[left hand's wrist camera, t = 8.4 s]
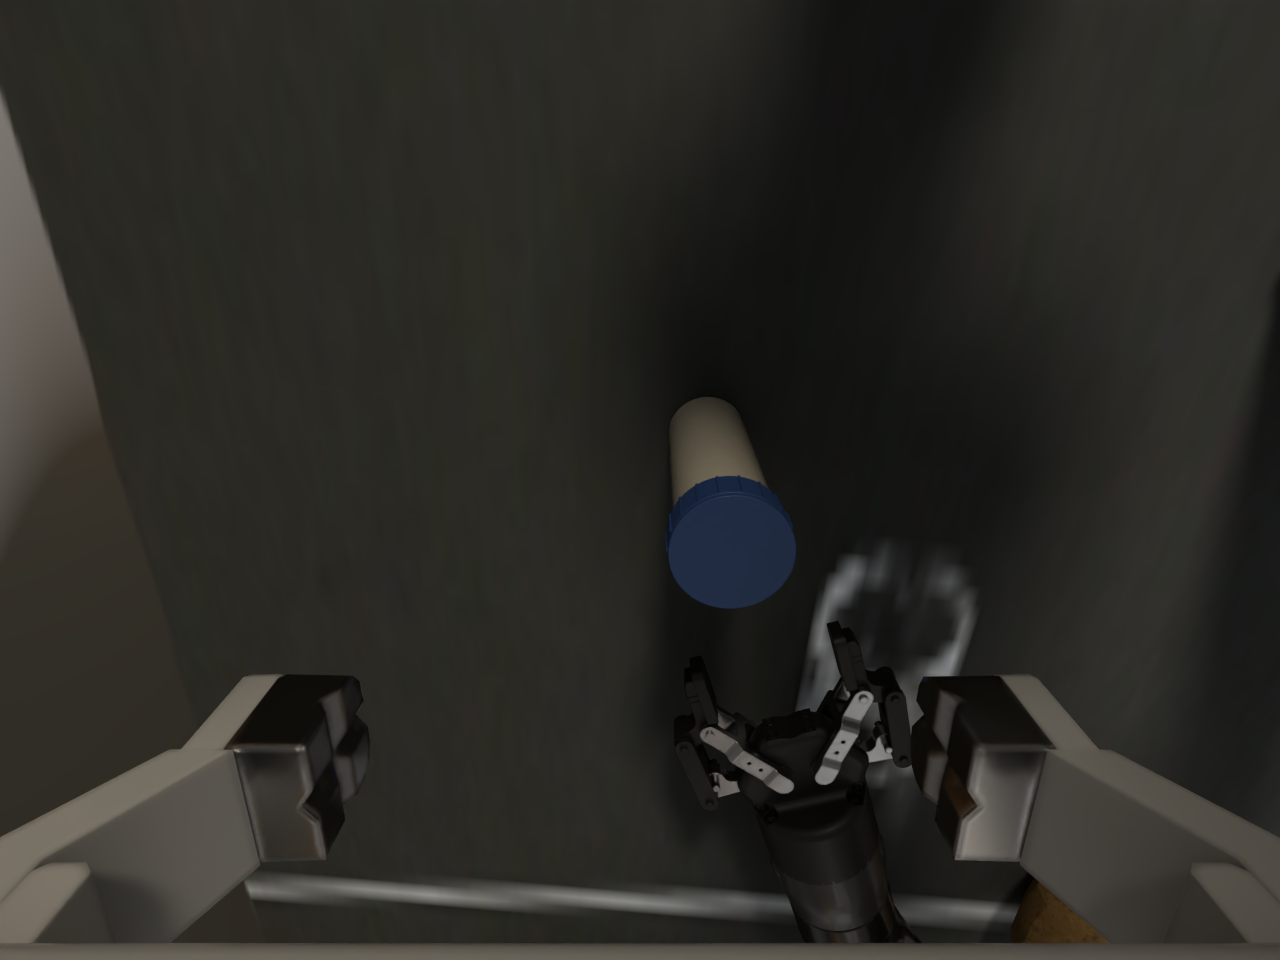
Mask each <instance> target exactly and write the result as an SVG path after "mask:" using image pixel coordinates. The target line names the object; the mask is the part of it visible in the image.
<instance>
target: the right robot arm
mask: <svg viewBox="0 0 1280 960" xmlns="http://www.w3.org/2000/svg"><path fill="white" fill-rule="evenodd" d="M827 628H828V631H829V635H830V639H831V643H832V647H833V651H834V655H835V659H836V663H837V666H838V670H839V672H840V675H841V678H840V679H839V681H838V683H837V685H836V686H835V688H834V690H833V691H832V690H829V691H828V692H827V694H826V696H825V697H824V699H823V701H822V703H821V704H820V706H819V708H818V710H817V711H816V712H811V711H810V708H809V709H804V710H800V711H797V712H795V713H793V714H790V715H788V716H781V717H770V718H766V719H762V721H763V723H762V724H760V725H758V724H756V723H755V722H753V721H751V720H750V719H748V718H746V717H744V716H743V715H741V714H739V713H737V712H735V713H734V714H731V713H730V712H728V711H726V710H725V709H723V708H721V707H719V706H718V705H717V702H716V697H715V694H714V691H713V688H712V685H711V682H710V679H709V676H708V674H707V671H706V668H705V665H704V662H703V659H702V656H697V657H693V658H690V667H689V668H685V671H684V684H685V692H686V695H687V697H688V700H689V703H690V706H691V709H692V711H693V713H692V714H691V715H689V716H685V715H681V716H678V717H677V718H676V719H675V720H674V739H675V752H676V755H677V757H678V759H679V761H680V763H681V765H682V767H683V769H684V772H685V774H686V776H687V778H688V780H689V782H690V784H691V786H692V789H693V791H694V793H695V795H696V797H697V799H698V801H699V803H700V806H701V807H702V808H703V809H704V810H707V811H712V810H715V809H716V808H717V807H718V806H719V799H718V797H722V796H725V795H729V794H733V793H736V792H741V793H742V794H743V795H745V796H746V797H747V798H748V799H749V800H750V801H751V802H752V804H753V807H754V810H755V813H756V816H757V819H758V822H759V825H760V828H761V831H762V834H763V836H764V839H765V842H766V845H767V848H768V851H769V854H770V860H771V861H770V862H771V865H772V867H773V870H774V872H775V873H776V874H777V877H778V879H779V882H780V884H781V886H782V888H783V890H784V891H785V893H786V895H787V897H788V898H789V901H790V904H791V907H792V909H793V912H794V915H795V918H796V921H797V924H798V928H799V930H800V933H801V935H802V938H803V940H804V942H805V943H921V941H920V940H919V938H918V937H917V936H916V934H915V933H914V932H913V931H912V929H911V928H910V927H909V925H908V924H907V922H906V921H905V919H904V918H903V917H902V915H901V914H900V913H899V911H898V910H897V908H896V907H895V906H894V902H893V898H892V894H891V891H890V887H889V883H888V879H887V875H886V860H885V854H884V843H883V838H882V836H881V834H880V833H879V829H878V826H877V822H876V818H875V814H874V810H873V806H872V802H871V798H870V795H869V791H868V787H867V783H866V779H865V773H866V770H867V768H868V765H869V763H871V762H876V761H882V760H888V759H893V760H894V763H895V765H896V766H898V767H901V768H905V767H908V766H910V765H911V764H912V763H911V752H910V741H911V734H910V726H909V719H908V712H907V704H906V698H905V695H904V693H903V691H902V690H901V689H900V687H899V685H898V683H897V681H896V678H895V675H894V673H893V671H892V669H891V668H889V667H880V668H878V669H877V670H876V671H868V670H866V669H865V667H864V663H863V659H862V655H861V650H860V647H859V644H858V642H857V640H856V638H855V635H854V633H853V632H852V631H851V630H850V628H849V627H848V628H844V629H841V626H840V624H839V622H838V621H835V622H831V623H827ZM872 702H878V706H879V712H880V719H881V721H876V722H875V723H874V725H875V727H874V728H873V730H872V736H871V737H870V739H868V740H867V741H864V742H862V740H861V739H860V738H859V737H858V735H859V732H860V723H861V720H862V719H863V717H864V716H865V714H866V712H867V711H868V709H869V707H870V706H871V704H872ZM703 742H706V743H707V744H709V745H711V746H713V747H714V748H716V749H718V750H720V751H721V752H723V753H724V754H725V755H726V756H727V758H728V759H729V761H730V762H731V763H733V764H734V765H736V769H735V771H727V770H725V769H724V768H723V766H722V765H721V764H719V763H717V760H716V759H711V760H710V759H709V757H708V755H707V753H706V751H705V748H704V746H703V744H702V743H703ZM747 742H748V743H747Z"/></svg>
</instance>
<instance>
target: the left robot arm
mask: <svg viewBox="0 0 1280 960" xmlns="http://www.w3.org/2000/svg"><path fill="white" fill-rule="evenodd" d="M363 701H364V700H363V695H362V690H361V685H360V681H359V680H358V679H357V678H356V677H354V676H340V675H293V674H287V675H282V674H252V675H249V676H246V677H243V678H242V679H241V681H240V682H239V683H238V684H237V685H236V686H235V687H234V689H233V690H232V691H231V692H230V693H229V694H228V696H227V697H226V698H225V699H224V700H223V701H222V703H221V704H220V705H219V706H218V707H217V708H216V709H215V711H214V712H213V713H212V714H211V715H210V716H209V718H208V719H207V720H206V721H205V722H204V723H203V725H202V726H201V727H200V728H199V729H198V730H197V731H196V733H195V734H194V735H193V736H192V737H191V738H190V740H189V741H188V742H187V743H186V744H185V745H184V747H183V748H182V749H181V750H168V751H166V752H164V753H162V754H160V755H158V756H156V757H154V758H152V759H151V760H149V761H147V762H145V763H143V764H141V765H139V766H137V767H135V768H133V769H131V770H129V771H127V772H125V773H124V774H122V775H120V776H118V777H116V778H114V779H112V780H110V781H108V782H106V783H104V784H102V785H100V786H98V787H97V788H95V789H93V790H91V791H89V792H87V793H85V794H83V795H81V796H79V797H77V798H75V799H73V800H71V801H70V802H68V803H66V804H64V805H62V806H60V807H58V808H56V809H54V810H52V811H50V812H48V813H46V814H45V815H43V816H41V817H39V818H37V819H35V820H33V821H31V822H29V823H27V824H25V825H23V826H21V827H19V828H17V829H15V830H14V831H12V832H10V833H8V834H6V835H4V836H2V837H0V960H1280V838H1279V837H1278V836H1276V835H1274V834H1272V833H1270V832H1268V831H1266V830H1264V829H1262V828H1260V827H1258V826H1256V825H1254V824H1253V823H1251V822H1249V821H1247V820H1245V819H1243V818H1241V817H1239V816H1237V815H1235V814H1233V813H1231V812H1229V811H1228V810H1226V809H1224V808H1222V807H1220V806H1218V805H1216V804H1214V803H1212V802H1210V801H1208V800H1206V799H1204V798H1203V797H1201V796H1199V795H1197V794H1195V793H1193V792H1191V791H1189V790H1187V789H1185V788H1183V787H1181V786H1179V785H1178V784H1176V783H1174V782H1172V781H1170V780H1168V779H1166V778H1164V777H1162V776H1160V775H1158V774H1156V773H1154V772H1153V771H1151V770H1149V769H1147V768H1145V767H1143V766H1141V765H1139V764H1137V763H1135V762H1133V761H1131V760H1129V759H1128V758H1126V757H1124V756H1122V755H1120V754H1118V753H1116V752H1114V751H1112V750H1099V749H1098V748H1097V747H1096V745H1095V744H1094V743H1093V742H1092V741H1091V740H1090V738H1089V737H1088V736H1087V735H1086V734H1085V733H1084V732H1083V730H1082V729H1081V728H1080V727H1079V726H1078V725H1077V723H1076V722H1075V721H1074V720H1073V719H1072V718H1071V716H1070V715H1069V714H1068V713H1067V712H1066V711H1065V710H1064V708H1063V707H1062V706H1061V705H1060V704H1059V703H1058V701H1057V700H1056V699H1055V698H1054V697H1053V696H1052V695H1051V693H1050V692H1049V691H1048V690H1047V689H1046V688H1045V686H1044V685H1043V684H1042V683H1041V682H1040V681H1039V679H1038V678H1036V677H1034V676H1032V675H1030V674H1006V675H993V676H934V677H923V679H922V681H921V683H920V685H919V689H918V694H917V700H916V701H917V703H918V704H919V706H920V708H921V710H922V712H923V713H924V715H923V716H922V717H921V718H920V719H919V720H918V721H917V722H916V723H915V724H914V725H913V726H912V733H911V741H910V752H911V763H912V768H913V772H914V775H915V779H916V781H917V784H918V786H919V788H920V790H921V792H922V794H923V795H924V796H925V797H927V798H928V799H930V800H931V801H932V802H934V803H935V804H936V805H937V810H936V816H935V821H936V823H937V825H938V827H939V829H940V831H941V833H942V835H943V837H944V839H945V841H946V843H947V845H948V847H949V849H950V851H951V853H952V855H953V857H954V859H955V860H975V861H1011V862H1020V866H1021V867H1023V868H1024V869H1025V870H1026V871H1027V872H1028V873H1030V874H1031V875H1032V876H1033V877H1034V878H1035V879H1037V880H1038V881H1039V882H1040V883H1041V884H1042V885H1043V886H1045V887H1046V888H1047V889H1048V890H1049V891H1050V892H1052V893H1053V894H1054V895H1055V896H1056V897H1057V898H1059V899H1060V900H1061V901H1062V902H1063V903H1064V904H1066V905H1067V906H1068V907H1069V908H1070V909H1071V910H1073V911H1074V912H1075V913H1076V914H1077V915H1078V916H1080V917H1081V918H1082V919H1083V920H1084V921H1085V922H1086V923H1088V924H1089V925H1090V926H1091V927H1092V928H1093V929H1095V930H1096V931H1097V932H1098V933H1099V934H1100V935H1102V936H1103V937H1104V938H1105V939H1106V940H1107V941H1109V942H1110V943H170V942H172V941H173V940H174V939H175V938H176V937H177V936H178V935H180V934H181V933H182V932H183V931H184V930H186V929H187V928H188V927H189V926H190V925H191V924H193V923H194V922H195V921H196V920H197V919H198V918H200V917H201V916H202V915H203V914H204V913H205V912H207V911H208V910H209V909H210V908H211V907H212V906H214V905H215V904H216V903H217V902H218V901H219V900H220V899H222V898H223V897H224V896H225V895H226V894H227V893H229V892H230V891H231V890H232V889H233V888H234V887H236V886H237V885H238V884H239V883H240V882H241V881H243V880H244V879H245V878H246V877H247V876H248V875H250V874H251V873H252V872H253V871H254V870H255V869H257V868H258V867H259V866H260V862H269V861H303V860H326V858H327V856H328V854H329V851H330V849H331V847H332V845H333V843H334V841H335V839H336V837H337V835H338V833H339V831H340V829H341V827H342V825H343V823H344V821H345V816H344V810H343V805H344V804H345V803H346V802H348V801H349V800H350V799H352V798H353V797H355V796H356V795H357V794H358V792H359V790H360V788H361V786H362V783H363V781H364V779H365V776H366V771H367V766H368V762H369V757H370V739H369V732H368V726H367V725H366V724H365V723H364V722H363V721H362V720H361V719H360V718H359V717H358V716H357V715H356V713H357V712H358V710H359V708H360V706H361V704H362V703H363Z"/></svg>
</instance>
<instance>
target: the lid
mask: <svg viewBox="0 0 1280 960" xmlns="http://www.w3.org/2000/svg"><path fill="white" fill-rule="evenodd" d="M678 499H679V500H678V501H677V503H676V504H675V506H674V508H673V510H672V512H671V514H669V515H668V520H669V521H668V526H667V533H665V537H666V552H667V551H668V560H669V566H670V570H671V572H672V574H673V577H674V578H675V580H676V582H677V583H678V585H679V586H680V587H681V588H682V589H683V590H684V591H685V592H686V593H687V594H688V595H690V596H691V597H692V598H694V599H695V600H697V601H699V602H701V603H704V604H706V605H709V606H713V607H717V608H727V609H733V608H742V607H747V606H751V605H754V604H757V603H759V602H761V601H763V600H765V599H767V598H768V597H770V596H771V595H773V594H774V593H775V592H776V591H777V590H778V589H779V588H780V587H781V586H782V585H783V584H784V583H785V581H786V580H787V579H788V577H789V575H790V574H791V571H792V569H793V567H794V563H795V559H796V541H795V536H794V533H793V530H792V528H793V525H792V523H791V520H790V518H789V515H788V513H787V510H786V511H785V510H784V508H783V506H782V504H781V502H780V501H779V498H778V496H777V494H773V492H772V491H770V490H769V489H768V488H767V487H765V486H764V485H762V484H761V482H760V481H759V482H756V481H754V480H752V479H748V478H745V477H740V475H738V476H720V477H718V476H716V477H715V478H711V479H708V480H705V481H703V482H701V483H698V484H697V483H696V484H695V486H693V487H692V488H690V489H689V490H688V491H687V492H686V493H684V494H683V495H682V497H679V498H678Z"/></svg>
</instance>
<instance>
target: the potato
mask: <svg viewBox="0 0 1280 960" xmlns="http://www.w3.org/2000/svg"><path fill="white" fill-rule="evenodd" d="M1011 943H1110V942H1109V941H1107V940H1106V939H1105V938H1104V937H1103V936H1102V935H1100V934H1099V933H1098V932H1097V931H1096V930H1095V929H1093V928H1092V927H1091V926H1090V925H1089V924H1088V923H1086V922H1085V921H1084V920H1083V919H1082V918H1081V917H1080V916H1078V915H1077V914H1076V913H1075V912H1074V911H1073V910H1071V909H1070V908H1069V907H1068V906H1067V905H1066V904H1064V903H1063V902H1062V901H1061V900H1060V899H1059V898H1057V897H1056V896H1055V895H1054V894H1053V893H1052V892H1050V891H1049V890H1048V889H1047V888H1046V887H1045V886H1043V885H1042V884H1041V883H1040V882H1039V881H1038V880H1037V879H1035V878H1033V880H1032V882H1031V883H1030V885H1029V887H1028V889H1027V890H1026V892H1025V894H1024V897H1023V900H1022V902H1021V905H1020V907H1019V910H1018V912H1017V915H1016V917H1015V919H1014V922H1013V924H1012V926H1011Z"/></svg>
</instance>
